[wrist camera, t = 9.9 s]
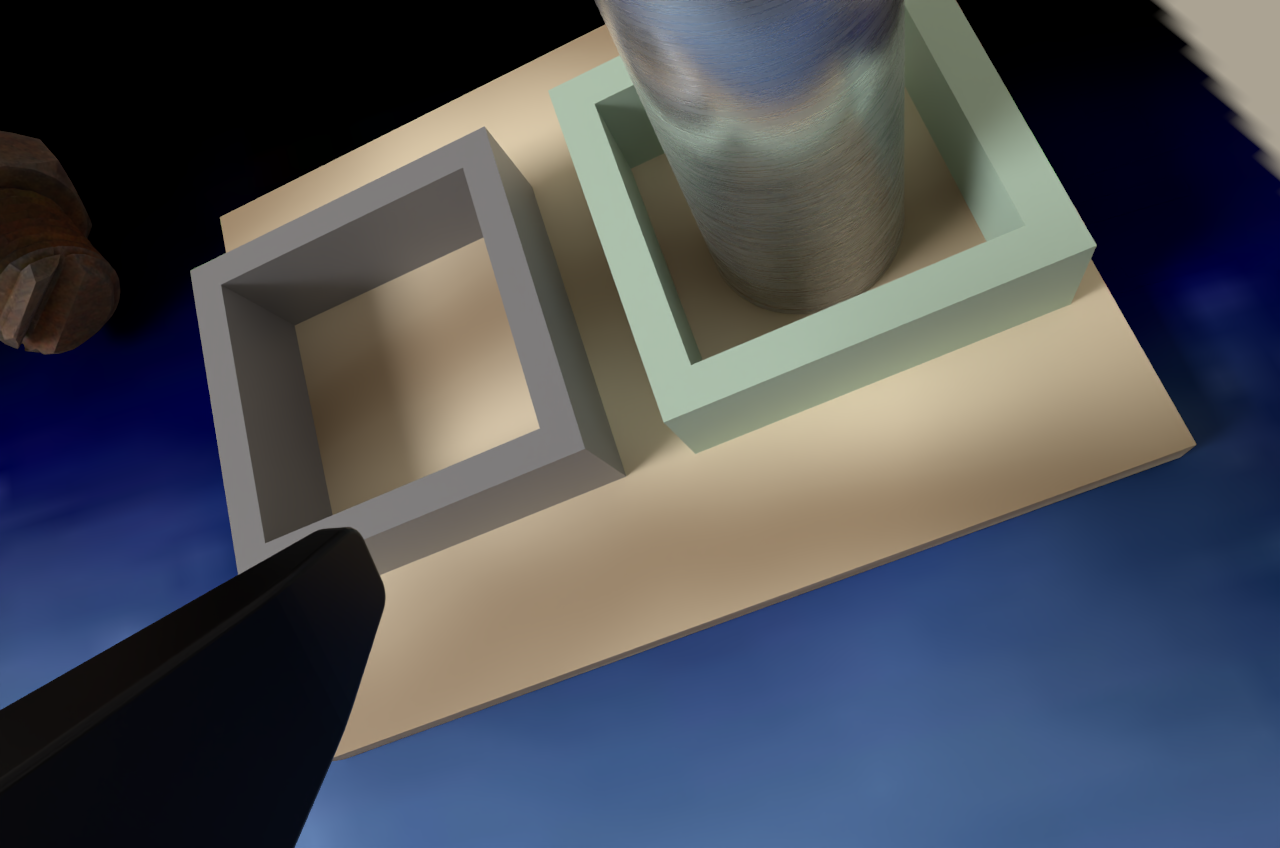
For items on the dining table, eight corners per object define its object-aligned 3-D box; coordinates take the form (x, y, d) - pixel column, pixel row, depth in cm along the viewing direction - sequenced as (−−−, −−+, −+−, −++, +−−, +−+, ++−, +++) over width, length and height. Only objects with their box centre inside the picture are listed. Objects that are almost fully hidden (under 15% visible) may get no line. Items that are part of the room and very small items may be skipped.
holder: (626, 476, 18) (585, 449, 16) (320, 599, 20) (240, 589, 17) (532, 186, 21) (484, 126, 18) (266, 312, 22) (189, 270, 20)
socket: (1070, 304, 17) (1096, 245, 14) (695, 453, 18) (663, 422, 16) (906, 5, 19) (906, -86, 17) (588, 155, 20) (547, 90, 18)
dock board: (1180, 457, 16) (1196, 444, 15) (344, 759, 19) (316, 763, 19) (880, -79, 21) (879, -113, 20) (246, 234, 24) (220, 217, 23)
